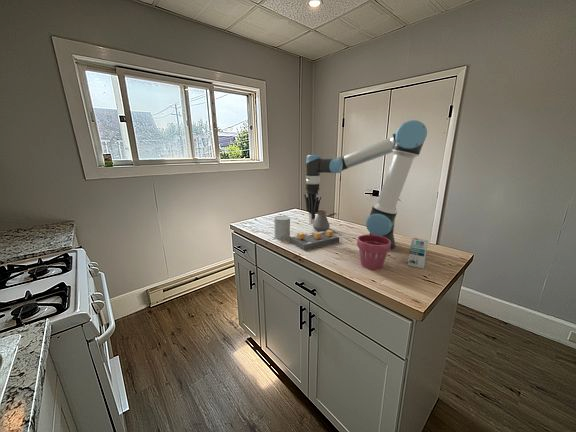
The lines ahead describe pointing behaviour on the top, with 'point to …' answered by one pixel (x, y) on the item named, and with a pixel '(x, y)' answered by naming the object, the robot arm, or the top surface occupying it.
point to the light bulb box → (418, 253)
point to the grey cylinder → (282, 227)
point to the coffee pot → (322, 221)
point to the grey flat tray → (313, 241)
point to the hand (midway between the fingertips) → (311, 223)
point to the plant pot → (373, 250)
